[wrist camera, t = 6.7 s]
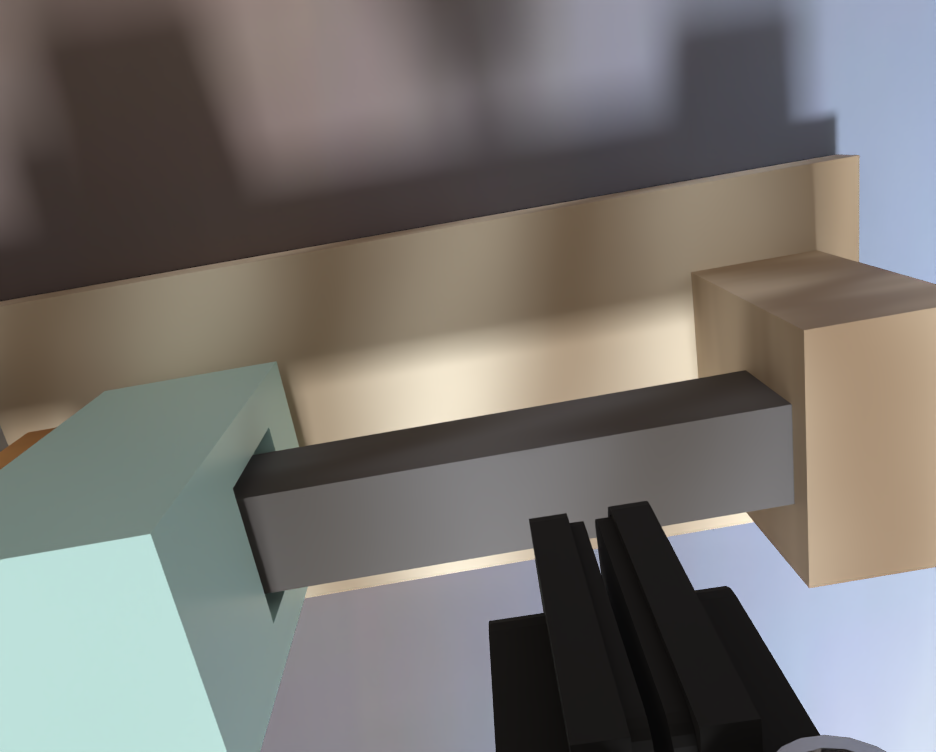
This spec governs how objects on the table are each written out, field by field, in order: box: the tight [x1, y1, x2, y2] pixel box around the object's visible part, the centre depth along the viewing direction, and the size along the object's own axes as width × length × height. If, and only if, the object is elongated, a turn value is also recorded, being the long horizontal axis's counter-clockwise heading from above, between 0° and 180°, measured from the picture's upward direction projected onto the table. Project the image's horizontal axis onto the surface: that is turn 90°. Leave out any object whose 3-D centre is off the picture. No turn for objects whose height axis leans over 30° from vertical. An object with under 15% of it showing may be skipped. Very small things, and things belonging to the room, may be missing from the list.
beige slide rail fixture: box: [0, 155, 936, 598], centre depth 15 cm, size 26×9×9 cm, turn 100°
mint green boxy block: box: [0, 361, 308, 752], centre depth 14 cm, size 4×5×8 cm
